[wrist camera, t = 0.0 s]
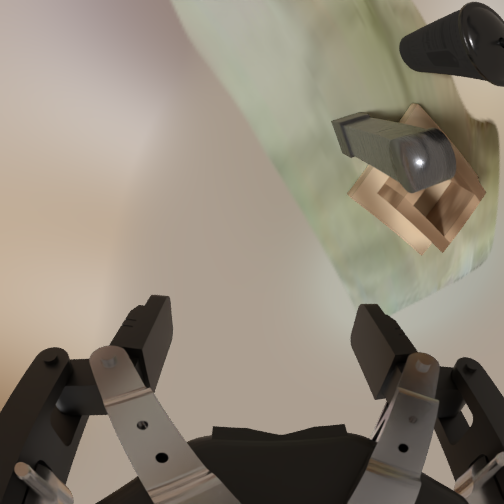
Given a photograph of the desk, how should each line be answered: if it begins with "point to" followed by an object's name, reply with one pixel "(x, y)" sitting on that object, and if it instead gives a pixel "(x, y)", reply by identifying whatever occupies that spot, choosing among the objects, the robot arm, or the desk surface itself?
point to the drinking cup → (459, 45)
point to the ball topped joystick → (398, 150)
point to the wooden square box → (421, 198)
